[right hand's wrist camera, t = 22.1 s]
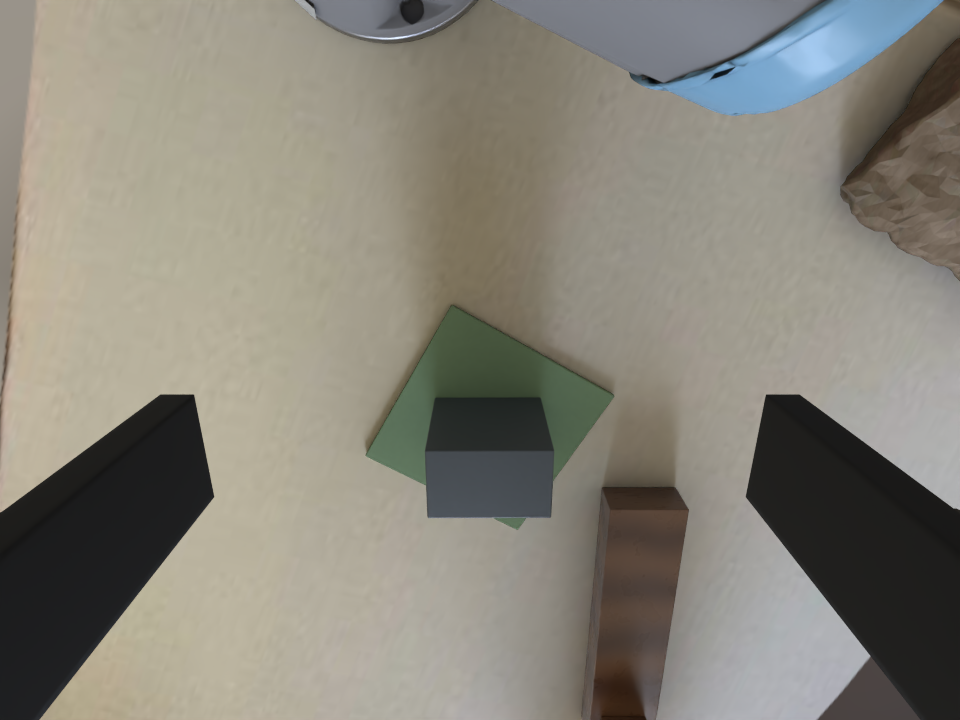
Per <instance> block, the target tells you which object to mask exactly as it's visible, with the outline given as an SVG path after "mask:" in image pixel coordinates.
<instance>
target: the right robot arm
mask: <svg viewBox="0 0 960 720" xmlns="http://www.w3.org/2000/svg"><path fill="white" fill-rule="evenodd" d="M295 1H296V2H297V3H298V4H299V5H300V6H302V7H303V8H304V9H305V10H306V11H307V12H308V13H309V14H310V15H311V16H312V17H314V18H315V19H316V18H317V19H319V20H320V21H321V22H323V23H324V24H326V25H328V26H329V27H331V28H333V29H335V30H336V31H339V32H341V33H343V34H346V35H348V36H351V37H354V38H357V39H360V40H365V41H370V42H376V43H402V42H410V41H414V40H418V39H422V38H425V37H427V36H430V35H433V34H435V33H437V32H439V31H441V30H443V29H445V28H446V27H448V26H449V25H451V24H453V23H454V22H456V21H457V20H458V19H459V18H461V17H462V16H463V15H464V14H466V13H467V12H468V11H469V10H470V9H471V8H472V7H473V6H474V5H475V4H476V2H477V1H478V0H295ZM492 1H494V2H496V3H497V4H499V5H501V6H503V7H505V8H507V9H509V10H511V11H513V12H515V13H517V14H519V15H521V16H523V17H524V18H526V19H528V20H530V21H532V22H534V23H536V24H538V25H540V26H542V27H544V28H546V29H548V30H550V31H551V32H553V33H555V34H557V35H559V36H561V37H563V38H565V39H567V40H569V41H571V42H573V43H575V44H577V45H578V46H580V47H582V48H584V49H586V50H588V51H590V52H592V53H594V54H596V55H598V56H600V57H602V58H604V59H605V60H607V61H609V62H611V63H613V64H615V65H617V66H619V67H621V68H623V69H625V70H627V71H629V73H630V76H631V78H632V79H633V80H634V81H635V82H637V83H639V84H640V85H642V86H645V87H647V88H649V89H655V90H663V91H670V92H672V93H674V94H676V95H679V96H681V97H683V98H685V99H687V100H690V101H692V102H694V103H696V104H698V105H701V106H703V107H705V108H707V109H709V110H712V111H715V112H717V113H721V114H726V115H732V116H737V115H742V114H758V113H768V112H773V111H776V110H779V109H782V108H785V107H788V106H791V105H793V104H796V103H798V102H800V101H802V100H805V99H807V98H809V97H811V96H813V95H815V94H817V93H819V92H821V91H823V90H825V89H827V88H828V87H830V86H832V85H834V84H835V83H837V82H839V81H840V80H842V79H844V78H845V77H847V76H848V75H850V74H851V73H853V72H854V71H856V70H857V69H859V68H860V67H862V66H863V65H865V64H866V63H867V62H869V61H870V60H872V59H873V58H874V57H876V56H877V55H878V54H880V53H881V52H882V51H884V50H885V49H886V48H888V47H889V46H890V45H892V44H893V43H894V42H895V41H897V40H898V39H899V38H901V37H902V36H903V35H904V34H906V33H907V32H908V31H909V30H910V29H912V28H913V27H914V26H915V25H916V24H918V23H919V22H920V21H921V20H922V19H923V18H924V17H926V16H927V15H928V14H929V13H930V12H931V11H932V10H933V9H934V8H936V7H937V6H938V5H939V4H940V3H941V2H942V1H943V0H492ZM213 498H214V493H213V488H212V483H211V478H210V473H209V468H208V463H207V458H206V453H205V448H204V443H203V438H202V433H201V428H200V423H199V418H198V413H197V408H196V403H195V397H194V395H159V396H158V397H157V398H155V399H154V400H153V401H151V402H150V403H149V404H147V405H146V406H144V407H143V408H142V409H140V410H139V411H138V412H136V413H135V414H134V415H132V416H131V417H130V418H128V419H127V420H126V421H124V422H123V423H122V424H120V425H119V426H117V427H116V428H115V429H113V430H112V431H111V432H109V433H108V434H107V435H105V436H104V437H103V438H101V439H100V440H99V441H97V442H96V443H94V444H93V445H92V446H90V447H89V448H88V449H86V450H85V451H84V452H82V453H81V454H80V455H78V456H77V457H76V458H74V459H73V460H71V461H70V462H69V463H67V464H66V465H65V466H63V467H62V468H61V469H59V470H58V471H57V472H55V473H54V474H53V475H51V476H50V477H49V478H47V479H46V480H44V481H43V482H42V483H40V484H39V485H38V486H36V487H35V488H34V489H32V490H31V491H30V492H28V493H27V494H26V495H24V496H23V497H21V498H20V499H19V500H17V501H16V502H15V503H13V504H12V505H11V506H9V507H8V508H7V509H5V510H4V511H2V512H0V720H39V719H40V718H41V717H42V716H43V714H44V713H45V712H46V711H47V709H48V708H49V707H50V705H51V704H52V703H53V702H54V700H55V699H56V698H57V697H58V695H59V694H60V693H61V691H62V690H63V689H64V688H65V686H66V685H67V684H68V683H69V681H70V680H71V679H72V677H73V676H74V675H75V674H76V672H77V671H78V670H79V668H80V667H81V666H82V665H83V663H84V662H85V661H86V660H87V658H88V657H89V656H90V654H91V653H92V652H93V651H94V649H95V648H96V647H97V646H98V644H99V643H100V642H101V640H102V639H103V638H104V637H105V635H106V634H107V633H108V632H109V630H110V629H111V628H112V626H113V625H114V624H115V623H116V621H117V620H118V619H119V618H120V616H121V615H122V614H123V612H124V611H125V610H126V609H127V607H128V606H129V605H130V604H131V602H132V601H133V600H134V598H135V597H136V596H137V595H138V593H139V592H140V591H141V590H142V588H143V587H144V586H145V584H146V583H147V582H148V581H149V579H150V578H151V577H152V576H153V574H154V573H155V572H156V570H157V569H158V568H159V567H160V565H161V564H162V563H163V561H164V560H165V559H166V558H167V556H168V555H169V554H170V553H171V551H172V550H173V549H174V547H175V546H176V545H177V544H178V542H179V541H180V540H181V539H182V537H183V536H184V535H185V533H186V532H187V531H188V530H189V528H190V527H191V526H192V525H193V523H194V522H195V521H196V519H197V518H198V517H199V516H200V514H201V513H202V512H203V511H204V509H205V508H206V507H207V505H208V504H209V503H210V502H211V500H212V499H213ZM746 498H747V499H748V500H749V502H750V503H751V504H752V505H753V507H754V508H755V509H756V511H757V512H758V513H759V514H760V516H761V517H762V518H763V519H764V521H765V522H766V523H767V525H768V526H769V527H770V528H771V530H772V531H773V532H774V533H775V535H776V536H777V537H778V539H779V540H780V541H781V542H782V544H783V545H784V546H785V547H786V549H787V550H788V551H789V553H790V554H791V555H792V556H793V558H794V559H795V560H796V561H797V563H798V564H799V565H800V567H801V568H802V569H803V570H804V572H805V573H806V574H807V576H808V577H809V578H810V579H811V581H812V582H813V583H814V584H815V586H816V587H817V588H818V590H819V591H820V592H821V593H822V595H823V596H824V597H825V598H826V600H827V601H828V602H829V604H830V605H831V606H832V607H833V609H834V610H835V611H836V612H837V614H838V615H839V616H840V618H841V619H842V620H843V621H844V623H845V624H846V625H847V626H848V628H849V629H850V630H851V632H852V633H853V634H854V635H855V637H856V638H857V639H858V640H859V642H860V643H861V644H862V646H863V647H864V648H865V649H866V651H867V652H868V653H869V654H870V656H871V657H872V658H873V660H874V661H875V662H876V663H877V665H878V666H879V667H880V668H881V670H882V671H883V672H884V674H885V675H886V676H887V677H888V679H889V680H890V681H891V683H892V684H893V685H894V686H895V688H896V689H897V690H898V691H899V693H900V694H901V695H902V697H903V698H904V699H905V700H906V702H907V703H908V704H909V705H910V707H911V708H912V709H913V711H914V712H915V713H916V714H917V716H918V717H919V718H920V719H921V720H960V510H958V509H953V508H952V507H951V506H949V505H948V504H947V503H945V502H944V501H943V500H941V499H940V498H939V497H937V496H936V495H934V494H933V493H932V492H930V491H929V490H928V489H926V488H925V487H924V486H922V485H921V484H920V483H918V482H917V481H916V480H914V479H913V478H911V477H910V476H909V475H907V474H906V473H905V472H903V471H902V470H901V469H899V468H898V467H897V466H895V465H894V464H893V463H891V462H890V461H889V460H887V459H886V458H884V457H883V456H882V455H880V454H879V453H878V452H876V451H875V450H874V449H872V448H871V447H870V446H868V445H867V444H866V443H864V442H863V441H861V440H860V439H859V438H857V437H856V436H855V435H853V434H852V433H851V432H849V431H848V430H847V429H845V428H844V427H843V426H841V425H840V424H838V423H837V422H836V421H834V420H833V419H832V418H830V417H829V416H828V415H826V414H825V413H824V412H822V411H821V410H820V409H818V408H817V407H816V406H814V405H813V404H811V403H810V402H809V401H807V400H806V399H805V398H803V397H802V396H801V395H766V397H765V403H764V408H763V413H762V418H761V423H760V428H759V433H758V438H757V443H756V448H755V453H754V458H753V463H752V468H751V473H750V478H749V483H748V488H747V493H746Z"/></svg>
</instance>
